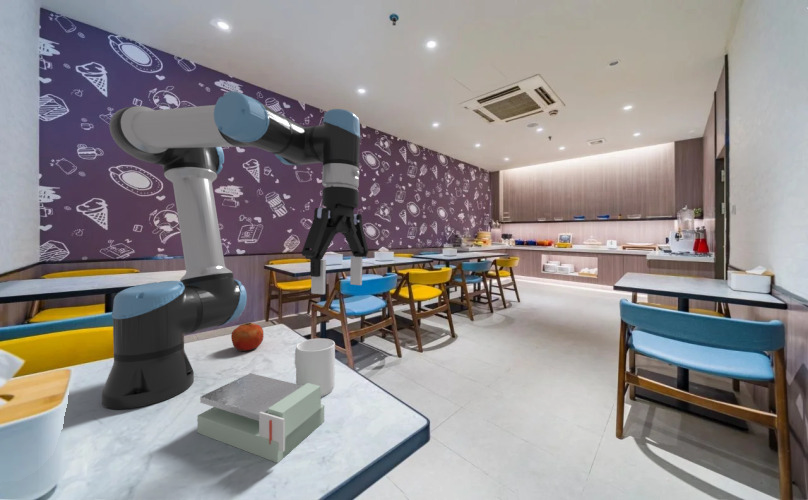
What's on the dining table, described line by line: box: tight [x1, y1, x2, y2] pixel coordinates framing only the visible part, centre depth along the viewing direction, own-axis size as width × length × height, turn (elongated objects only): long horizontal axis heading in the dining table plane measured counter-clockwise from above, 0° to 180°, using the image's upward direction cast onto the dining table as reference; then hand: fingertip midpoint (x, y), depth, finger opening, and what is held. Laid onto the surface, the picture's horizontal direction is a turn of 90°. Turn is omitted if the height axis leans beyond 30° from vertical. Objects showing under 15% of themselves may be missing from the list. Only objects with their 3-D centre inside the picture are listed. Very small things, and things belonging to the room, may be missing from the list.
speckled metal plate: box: [199, 373, 302, 421], centre depth 52 cm, size 14×10×3 cm
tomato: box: [231, 322, 264, 352], centre depth 90 cm, size 9×9×8 cm
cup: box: [294, 338, 336, 398], centre depth 66 cm, size 8×12×10 cm
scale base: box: [197, 383, 325, 464], centre depth 51 cm, size 19×11×7 cm, turn 68°
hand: (339, 288), depth 62 cm, fingers open, 13 cm apart
